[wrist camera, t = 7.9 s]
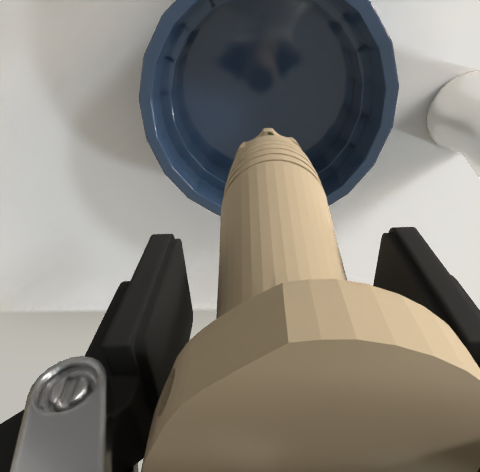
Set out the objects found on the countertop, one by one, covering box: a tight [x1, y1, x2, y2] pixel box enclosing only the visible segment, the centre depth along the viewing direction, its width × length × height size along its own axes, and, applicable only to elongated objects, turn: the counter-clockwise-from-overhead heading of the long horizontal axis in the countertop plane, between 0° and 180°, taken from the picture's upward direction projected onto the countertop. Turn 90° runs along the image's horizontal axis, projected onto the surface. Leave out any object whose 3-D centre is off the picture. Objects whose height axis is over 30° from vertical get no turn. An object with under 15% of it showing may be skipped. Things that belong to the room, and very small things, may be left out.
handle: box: [141, 128, 480, 472], centre depth 12 cm, size 5×6×15 cm
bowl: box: [139, 0, 399, 216], centre depth 27 cm, size 17×17×6 cm
